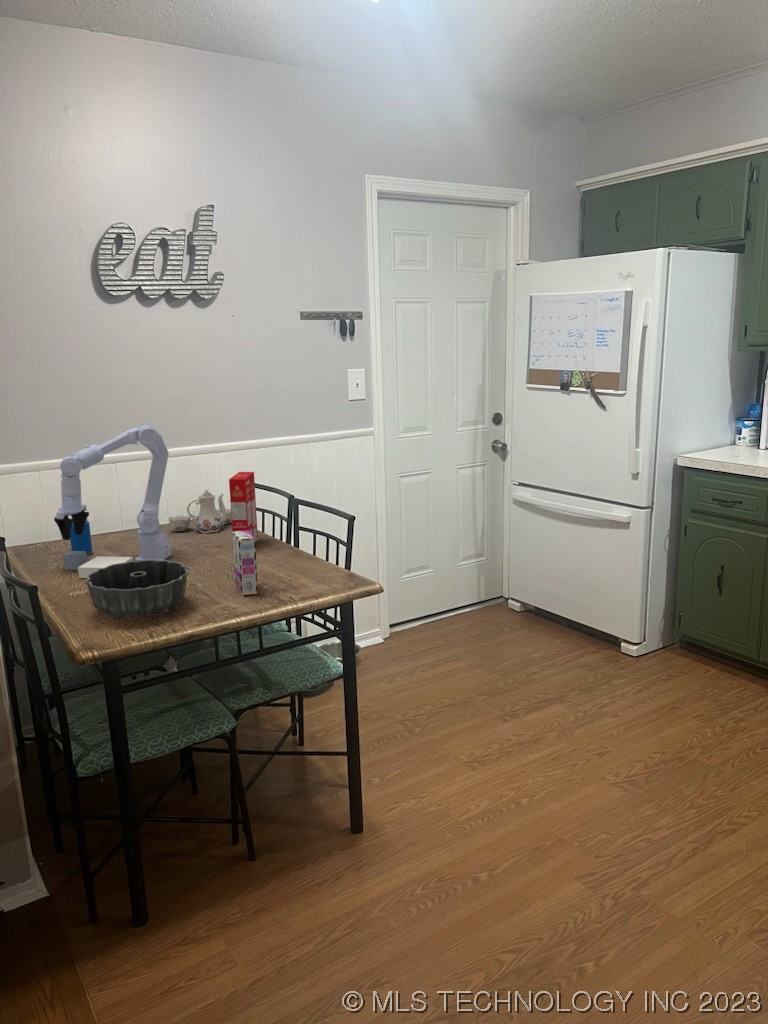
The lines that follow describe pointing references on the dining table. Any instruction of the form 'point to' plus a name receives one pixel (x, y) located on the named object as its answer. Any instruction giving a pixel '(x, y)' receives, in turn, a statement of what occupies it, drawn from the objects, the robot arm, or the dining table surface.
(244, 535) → the candy bar box
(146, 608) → the bundt pan
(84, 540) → the beverage can
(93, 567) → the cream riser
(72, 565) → the blue cube
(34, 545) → the dining table surface
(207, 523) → the chinaware
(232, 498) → the food packaging
